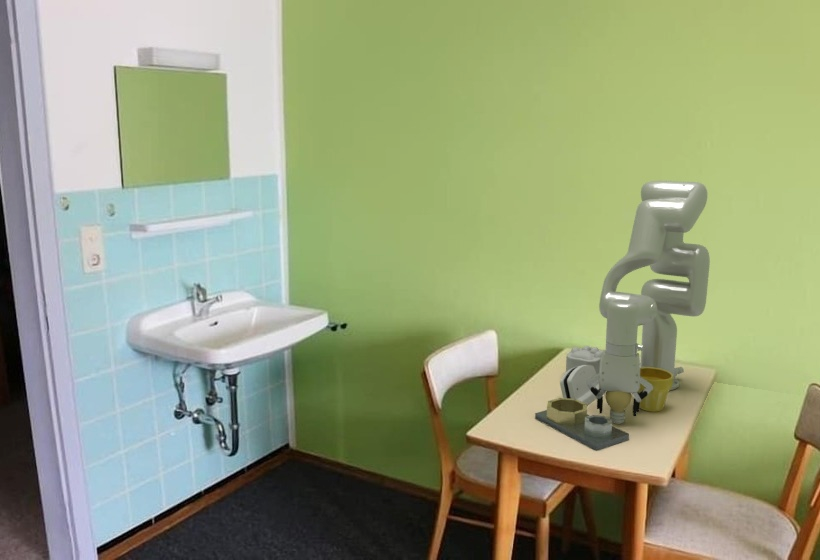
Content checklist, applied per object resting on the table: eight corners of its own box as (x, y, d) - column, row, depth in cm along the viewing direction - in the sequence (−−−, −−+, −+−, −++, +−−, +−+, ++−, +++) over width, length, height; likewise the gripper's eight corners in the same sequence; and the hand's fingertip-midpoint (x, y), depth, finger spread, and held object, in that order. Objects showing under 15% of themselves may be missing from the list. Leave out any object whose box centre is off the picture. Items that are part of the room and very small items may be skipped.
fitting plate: (566, 409, 190) (566, 393, 189) (628, 439, 171) (629, 422, 170) (535, 418, 184) (535, 402, 183) (596, 450, 166) (596, 433, 165)
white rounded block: (581, 410, 189) (570, 374, 189) (565, 411, 192) (555, 376, 192) (606, 391, 202) (596, 358, 202) (591, 393, 205) (582, 360, 205)
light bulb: (617, 429, 177) (619, 391, 175) (599, 420, 183) (600, 384, 180) (635, 423, 180) (637, 387, 178) (617, 414, 186) (618, 379, 183)
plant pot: (674, 404, 192) (677, 370, 190) (666, 417, 183) (668, 382, 181) (636, 397, 197) (638, 364, 195) (626, 409, 189) (628, 375, 187)
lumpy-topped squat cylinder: (561, 378, 213) (562, 351, 211) (578, 366, 223) (579, 340, 221) (594, 385, 207) (595, 357, 205) (610, 372, 217) (611, 346, 215)
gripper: (655, 346, 178) (651, 410, 182) (585, 341, 183) (583, 404, 187) (658, 355, 171) (654, 422, 175) (585, 350, 176) (582, 415, 179)
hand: (617, 412), depth 181 cm, fingers open, 7 cm apart
